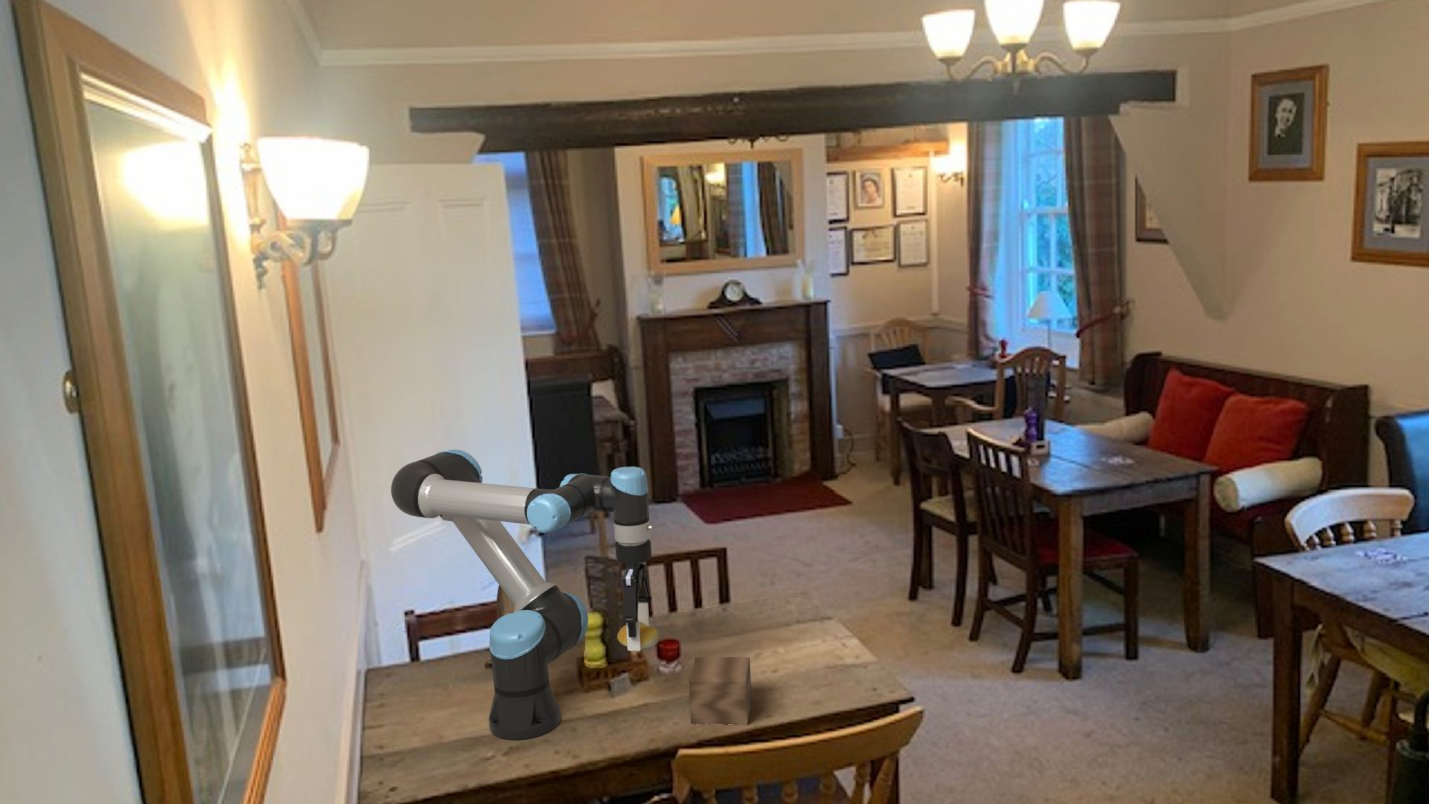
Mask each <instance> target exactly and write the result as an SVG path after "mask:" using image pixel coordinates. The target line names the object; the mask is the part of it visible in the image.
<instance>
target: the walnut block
mask: <svg viewBox="0 0 1429 804" xmlns="http://www.w3.org/2000/svg"><path fill="white" fill-rule="evenodd" d="M692 664H693V665H692V668H691V672H690V674H689V678H688V680H687V681H688V694H689V695H688V698H689V713H690V714H689V716H690V725H691V724H694V725H693V726H697V725H696V724H701V725H700V726H706V725H705V724H708V725H707V726H712V725H711V724H724V725H723V726H729V725H728V724H733V725H732V726H745V725H749V719H748V718H750V713H749V711H750V710H751V705H752V700H751V699H752V697H753V696H752V679H751V678H752V677H751V657H749V656H745V657H744V656H737V657H736V656H735V657H733V656H731V657H729V656H726V657H724V656H715V657H714V656H713V657H712V656H705V657H703V656H699V657H697V656H695V658H694V661H693V663H692ZM750 712H751V711H750ZM740 724H742V725H740Z"/></svg>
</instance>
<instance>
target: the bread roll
mask: <svg viewBox="0 0 1429 804" xmlns="http://www.w3.org/2000/svg"><path fill="white" fill-rule="evenodd" d="M639 624H640V641H641V650H646V649H649V648H652V647H654V646H656V645H657V643H658V642H659V639H660V635H659V632H658V630H657V628H655V627H652V626H650V625H649V626H647V625H646V624H644V623H642V622H639ZM617 640H618V642H619V644H621V645H622V646H625V647H627V631H626V624H625V625H623V626H622V628H620V630H618V633H617Z"/></svg>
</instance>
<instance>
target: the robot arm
mask: <svg viewBox="0 0 1429 804" xmlns="http://www.w3.org/2000/svg"><path fill="white" fill-rule="evenodd" d="M482 473H483V471H482V468H481V466H480V464H479V462H478V461H477V459H475V457H474V456H472V455H471V454H470V453H469V452H466V451H464V450H461V449H448V450H443V451H439V452H437V453H435V454H432V455H430V456H427V457H424V458H422V459H420V460H416V461H412V462H410V463H407V464H405V465H404V466H403V467H401V468H400V469H398V471H397V473H396V474H395V475H394V477H393V479H392V481H391V486H390V495H391V498H392V501H393V503H394V504H395V506H396V507H397V508H398V509H399V510H400V511H401V512H402V513H404V514H406V515H408V516H412V517H416V518H424V519H436V518H438V517H439V518H440V519H441V520H442V521H446V522H447V521H448V522H452V523H453V524H454V525H455V527H456V529H458V531H459V532H460V534H461V535H462V536H463V538H464V539H465V541H466V543H468V545H469V546H470V547H471V549H472V550H473V551H474V553H475V554H476V555H477V557H478V558H479V559H480V561H481V562H482V564H483V565H484V566H485V567H486V569H487V571H489V573H490V574H491V576H492V577H493V578H494V580H495V581H496V582H497V584H498V586H499V585H500V587H501V588H502V589H503V591H504V592H505V593H506V595H507V596H508V597H509V599H510V600H511V601H512V603H513V604H514V606H515V610H514V613H513V614H510V613H509V614H506V615H504V616H502V617H501V618H499V619H496V621H495V622H494V623H492V626H491V627H490V630H489V645H488V646H489V651H490V660H491V661H492V666H491V670H492V677H493V678H492V679H493V680H492V681H493V689H494V690H493V692H494V695H493V698H492V703H491V706H490V710H489V714H488V726H489V727H488V728H489V731H490V732H491V733H492V734H493V736H495V737H498V738H501V739H505V740H512V741H513V740H515V741H516V740H526V739H532V738H537V737H540V736H542V735H543V736H544V735H545V734H547V733H549V732H550V731H553V730H554V729H555V728H557V726H559V723H560V722H561V710H560V706H559V703H558V701H557V699H556V696H555V694H554V692H553V690H552V687H551V686H550V685H551V684H550V678H549V677H550V676H549V665H550V664H551V663H552V662H553V661H555V660H557V659H558V658H559V657H561V656H562V655H563V654H564V653H566V652H567V651H569V650H571V649H573V648H574V647H575V646H576V645H577V644H578V643H579V642H580V641H581V640H582V639H583V638H584V636H585V635H586V633H587V632H588V627H589V625H588V624H589V616H588V610H587V608H586V605H585V604H584V602H583V601H582V600H581V599H580V598H579V597H578V596H577V595H576V594H575V593H574V594H573V593H572V594H571V593H570V592H568V591H567V592H562V590H561V589H560V588H559V586H558V585H557V584H556V583H552V582H547V581H545V579H544V577H543V576H542V575H541V574H540V573H539V571H538V570H537V569H536V567H535V565H534V564H533V563H532V561H531V560H530V559H529V557H528V556H527V555H526V554H525V552H524V551H523V549H521V548H522V547H520V545H519V544H518V542H517V541H515V539H514V538H513V536H512V535H511V534H510V532H509V531H508V530H507V528H506V526H505V525H504V524H503V523H504V522H505V523H511V524H512V523H513V524H520V525H521V524H523V525H530V526H531V527H532V528H533V529H534V530H536V531H537V532H539V533H541V534H549V533H552V532H555V531H560V530H561V529H563V528H564V527H566V526H567V525H569V524H570V523H572V522H574V521H576V520H578V519H580V518H581V517H583V516H585V515H587V514H589V513H591V512H602V513H612V515H613V528H614V529H613V530H614V532H613V533H614V540H615V543H614V544H615V547H614V548H615V558H616V560H617V561H618V562H621V563H624V564H625V565H626V566H625V568H623V575H622V576H621V579H622V580H621V582H622V607H623V609H622V611H623V612H622V613H623V615H622V616H623V618H621V622H622V623H624V624H625V625H626V631H627V646H626V648H627V651H630V652H631V651H632V652H635V651H637V652H638V651H639V652H640V651H642V649H641V641H640V624H639V622H642V623H644V624H646V625H647V626H649V627H650V615H649V613H650V612H649V603H650V602H652V600H653V599H652V596H650V594H651V592H650V584H649V575H648V569H647V567H648V566H647V561H648V560H649V559H651V557H652V541H651V540H650V538H651V531H652V530H653V528H654V527H653V525H652V524H650V511H649V510H650V509H649V508H650V507H649V506H650V505H649V491H650V489H649V485H648V477H647V472H646V470H644V469H643V468H641V467H639V466H638V467H637V466H623V467H617V468H615V469H613V470H612V471H611V472H610V476H608V475H606V476H605V475H596V474H594V475H593V474H587V473H570V474H567V475H566V476H565V477H563V480H561V482H560V485H559V487H557V488H555V489H545V488H537V487H536V488H535V487H534V488H533V487H528V486H526V487H525V486H515V485H503V484H494V483H483V476H482Z"/></svg>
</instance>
